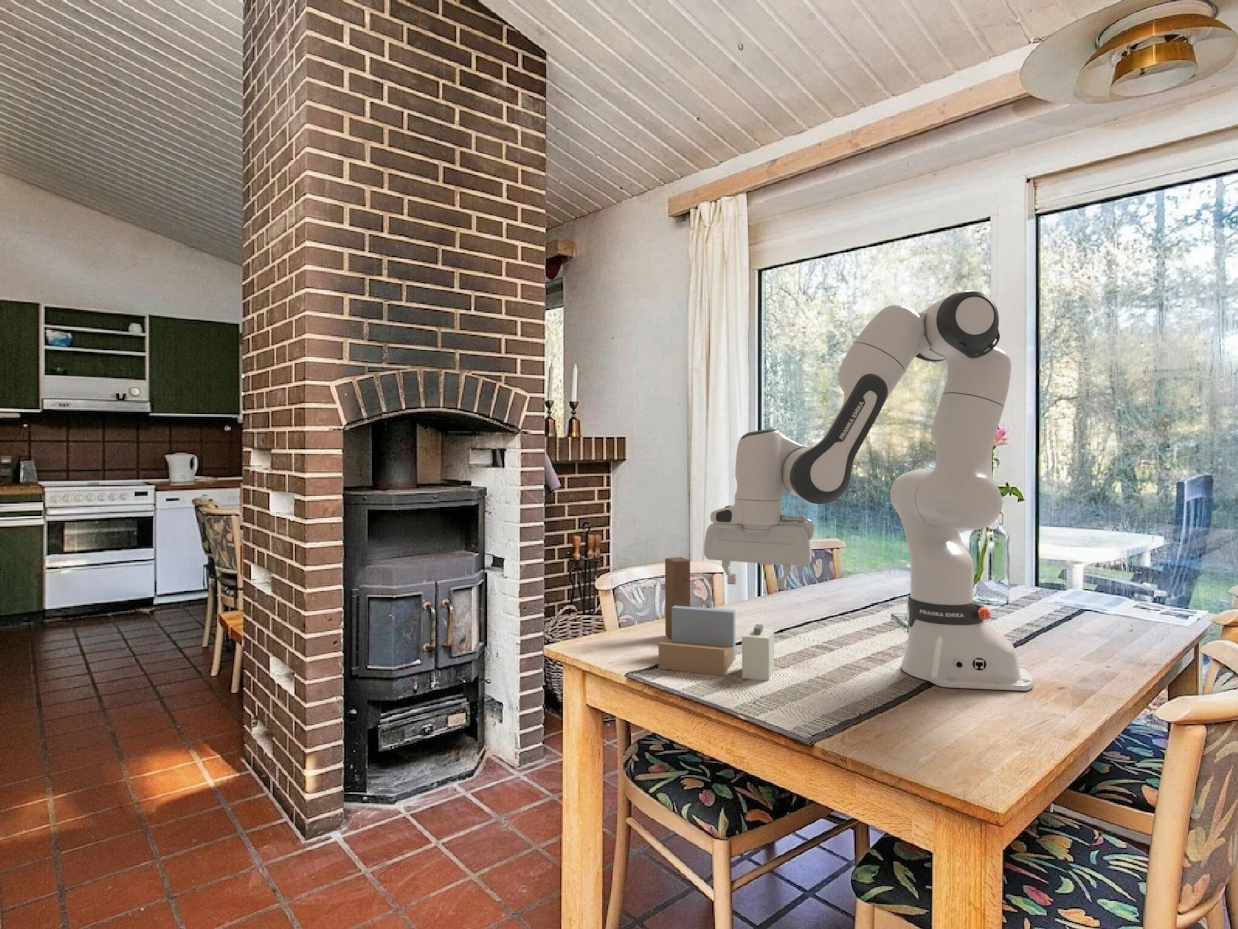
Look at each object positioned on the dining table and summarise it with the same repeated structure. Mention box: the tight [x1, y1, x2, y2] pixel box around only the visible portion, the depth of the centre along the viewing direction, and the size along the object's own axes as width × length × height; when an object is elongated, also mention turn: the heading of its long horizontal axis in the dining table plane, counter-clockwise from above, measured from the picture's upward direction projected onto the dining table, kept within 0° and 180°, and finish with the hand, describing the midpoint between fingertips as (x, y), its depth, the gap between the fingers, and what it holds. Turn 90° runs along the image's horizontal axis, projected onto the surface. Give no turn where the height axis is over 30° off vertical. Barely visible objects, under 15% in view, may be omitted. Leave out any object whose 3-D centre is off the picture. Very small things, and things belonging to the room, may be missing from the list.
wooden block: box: [664, 556, 692, 640], centre depth 162 cm, size 9×4×18 cm, turn 21°
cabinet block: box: [741, 624, 775, 682], centre depth 139 cm, size 5×7×9 cm
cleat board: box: [658, 606, 736, 677], centre depth 145 cm, size 13×12×10 cm
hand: (756, 586), depth 138 cm, fingers open, 8 cm apart
